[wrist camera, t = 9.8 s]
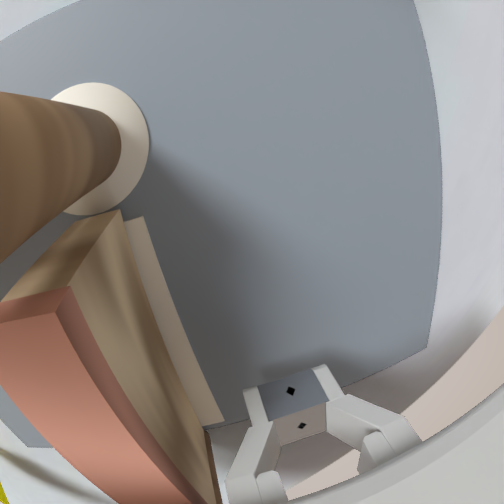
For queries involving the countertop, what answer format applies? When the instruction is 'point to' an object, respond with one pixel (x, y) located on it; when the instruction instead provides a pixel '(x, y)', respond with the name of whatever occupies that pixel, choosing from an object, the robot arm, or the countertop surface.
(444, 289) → the countertop surface
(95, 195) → the board
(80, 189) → the fence section
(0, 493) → the toy figure
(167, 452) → the fence panel
